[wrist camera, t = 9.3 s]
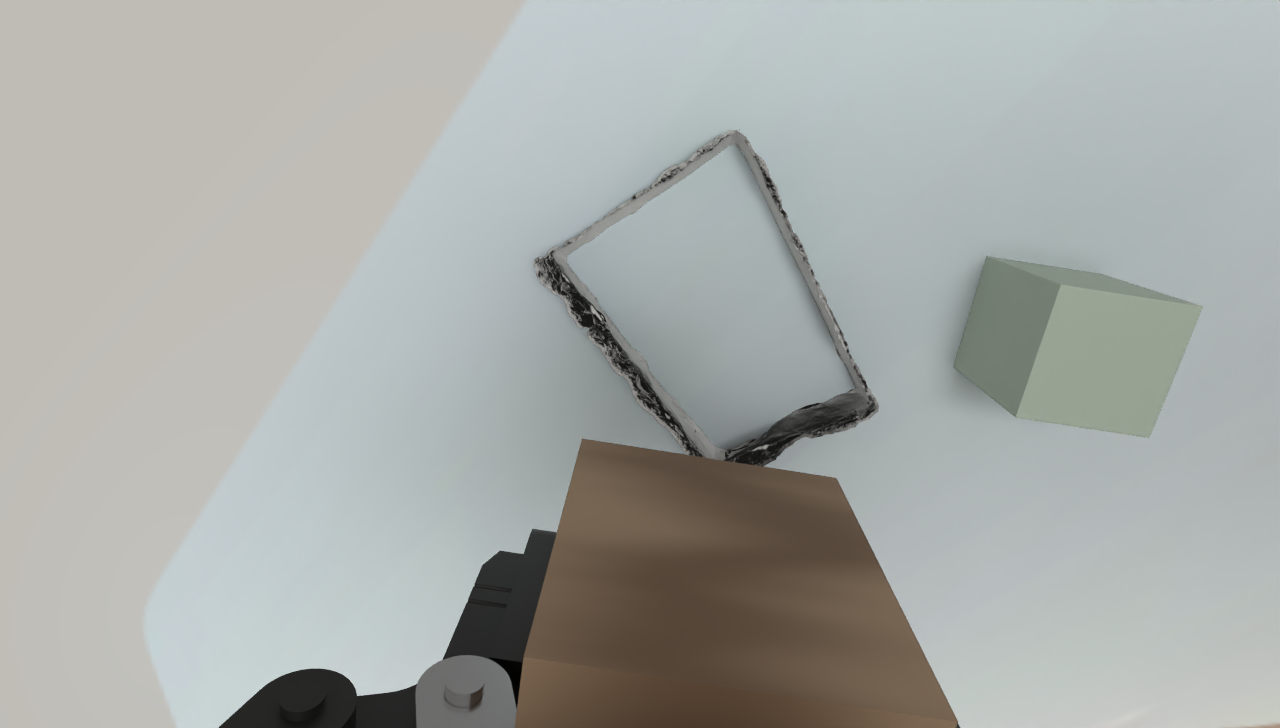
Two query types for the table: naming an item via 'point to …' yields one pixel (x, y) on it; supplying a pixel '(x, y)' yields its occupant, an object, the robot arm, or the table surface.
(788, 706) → the walnut block
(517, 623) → the robot arm
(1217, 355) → the table surface
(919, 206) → the table surface
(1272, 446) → the table surface
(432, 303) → the table surface
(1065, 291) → the sage block
